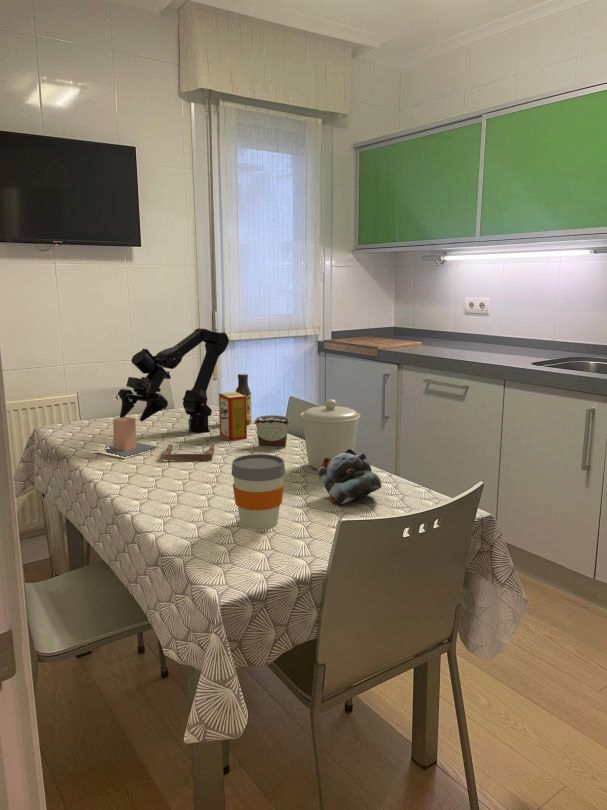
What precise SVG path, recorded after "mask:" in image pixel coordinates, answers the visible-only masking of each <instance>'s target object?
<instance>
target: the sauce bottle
mask: <svg viewBox="0 0 607 810" xmlns="http://www.w3.org/2000/svg"><path fill="white" fill-rule="evenodd" d="M237 379H238V380H237V381H238V383H237V385H238V386H237V387H236V388H235V389H236V390H235V392H237V393H239V394H242V395H244V396H246V415H247V425H249V423H250V424H251V423H252V392H251V390H250V387H249V382H248V381H249V374H248V373H238V374H237Z"/></svg>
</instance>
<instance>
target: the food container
mask: <svg viewBox="0 0 607 810" xmlns="http://www.w3.org/2000/svg"><path fill="white" fill-rule="evenodd" d="M254 425H255V426H256V433H257V435H256V436H257V442H258V443H257V444H258V447H259V448H278V447H279V449H280V448H282V449H283V448H284V447H285V448H287V440H288V430H289V426H291V423H290V420H289V417H287V416H284V415H275V414H273V415H261V416H258V417H255V420H254Z"/></svg>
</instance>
